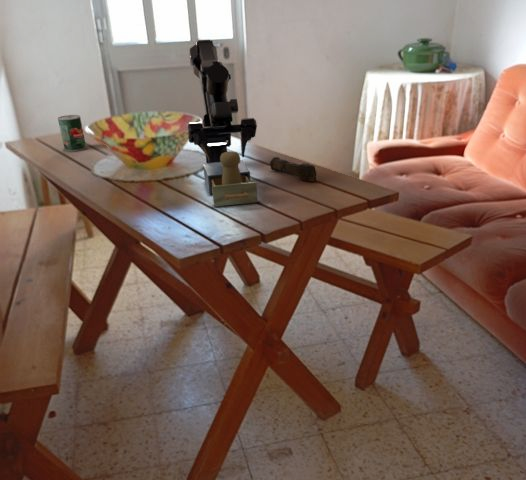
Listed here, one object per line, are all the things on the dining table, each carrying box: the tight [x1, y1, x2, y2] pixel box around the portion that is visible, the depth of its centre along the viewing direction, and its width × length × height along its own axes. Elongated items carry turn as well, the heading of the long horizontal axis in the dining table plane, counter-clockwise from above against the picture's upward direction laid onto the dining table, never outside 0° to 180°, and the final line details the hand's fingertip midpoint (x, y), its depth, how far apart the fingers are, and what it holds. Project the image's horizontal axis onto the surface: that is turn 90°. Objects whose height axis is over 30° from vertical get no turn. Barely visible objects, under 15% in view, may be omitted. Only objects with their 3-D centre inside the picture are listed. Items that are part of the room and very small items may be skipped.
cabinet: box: [202, 159, 251, 197], centre depth 159 cm, size 13×12×6 cm
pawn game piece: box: [220, 150, 242, 185], centre depth 148 cm, size 6×6×11 cm
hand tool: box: [269, 156, 317, 183], centre depth 165 cm, size 19×4×5 cm, turn 35°
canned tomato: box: [57, 114, 87, 152], centre depth 203 cm, size 8×8×11 cm
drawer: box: [211, 174, 258, 207], centre depth 149 cm, size 16×12×5 cm
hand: (226, 158), depth 153 cm, fingers open, 9 cm apart
